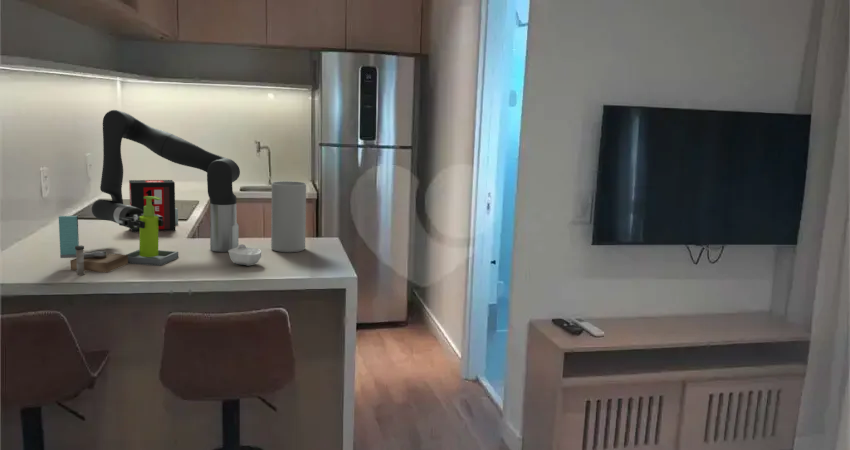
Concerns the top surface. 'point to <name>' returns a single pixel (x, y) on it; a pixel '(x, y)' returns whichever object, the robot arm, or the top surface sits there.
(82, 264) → the crank base
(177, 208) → the right angle wall
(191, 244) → the top surface
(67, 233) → the teal upright panel
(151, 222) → the soap dispenser
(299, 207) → the cylinder vase
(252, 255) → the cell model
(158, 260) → the tray
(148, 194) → the cleaning product box
